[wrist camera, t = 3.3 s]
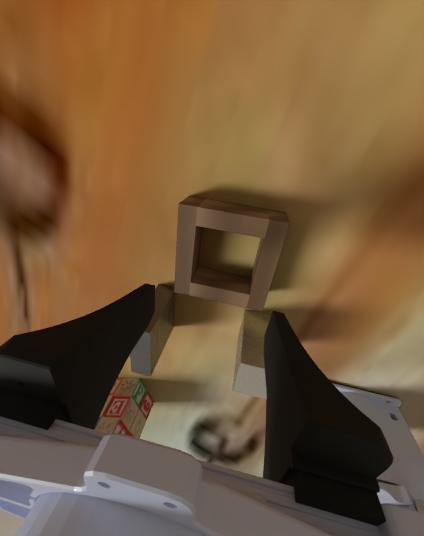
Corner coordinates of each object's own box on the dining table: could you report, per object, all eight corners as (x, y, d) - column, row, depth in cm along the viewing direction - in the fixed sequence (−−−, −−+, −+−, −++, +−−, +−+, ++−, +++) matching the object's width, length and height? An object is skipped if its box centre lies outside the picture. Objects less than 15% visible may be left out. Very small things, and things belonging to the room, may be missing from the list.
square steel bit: (281, 317, 25) (288, 374, 19) (271, 343, 27) (275, 401, 21) (244, 309, 25) (240, 363, 19) (238, 335, 27) (232, 390, 21)
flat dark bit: (175, 287, 25) (149, 333, 19) (173, 326, 28) (150, 376, 22) (158, 284, 25) (127, 328, 19) (158, 323, 28) (131, 371, 22)
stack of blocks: (57, 398, 43) (-8, 480, 33) (38, 376, 41) (-39, 459, 30) (155, 401, 38) (114, 502, 27) (140, 376, 35) (89, 478, 24)
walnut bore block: (285, 212, 19) (289, 223, 17) (262, 292, 23) (262, 311, 21) (189, 195, 20) (178, 203, 17) (183, 276, 24) (174, 292, 22)
